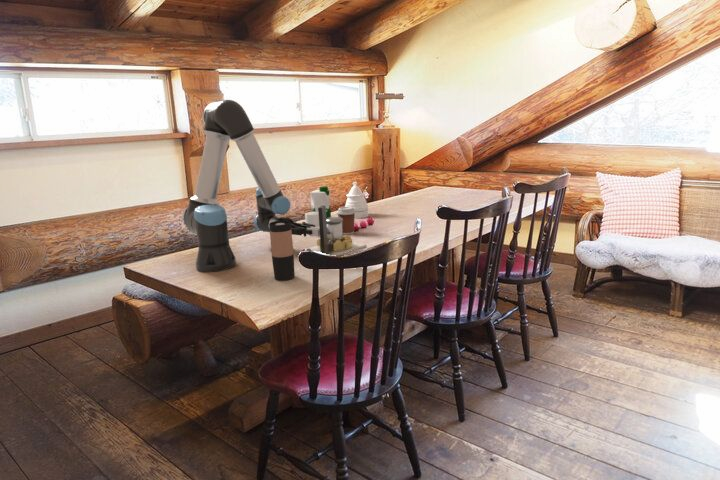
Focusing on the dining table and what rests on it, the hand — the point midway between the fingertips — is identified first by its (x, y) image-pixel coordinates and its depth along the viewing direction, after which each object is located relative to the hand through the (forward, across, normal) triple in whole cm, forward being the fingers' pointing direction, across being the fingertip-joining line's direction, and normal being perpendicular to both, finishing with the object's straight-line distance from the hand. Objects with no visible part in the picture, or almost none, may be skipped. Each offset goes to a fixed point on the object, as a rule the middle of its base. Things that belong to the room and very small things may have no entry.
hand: (320, 232), depth 208 cm
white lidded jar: (-5, -12, -11) cm, 17 cm away
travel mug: (+6, +25, -11) cm, 28 cm away
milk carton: (-42, -41, -11) cm, 60 cm away
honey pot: (-45, -69, -11) cm, 83 cm away
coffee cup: (-22, -37, -11) cm, 44 cm away
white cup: (-34, -27, -11) cm, 45 cm away
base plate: (-6, -12, -11) cm, 17 cm away
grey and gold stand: (-2, -9, -10) cm, 14 cm away
